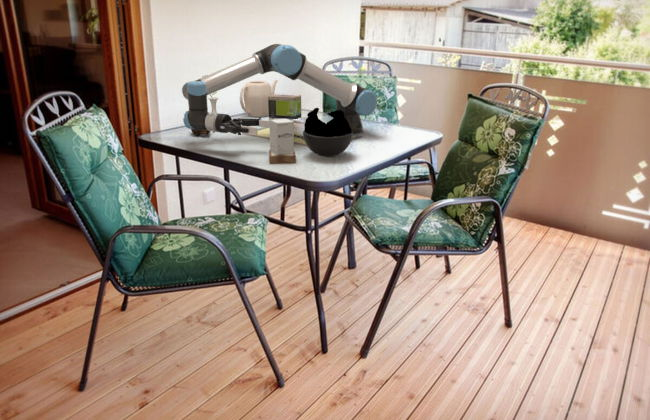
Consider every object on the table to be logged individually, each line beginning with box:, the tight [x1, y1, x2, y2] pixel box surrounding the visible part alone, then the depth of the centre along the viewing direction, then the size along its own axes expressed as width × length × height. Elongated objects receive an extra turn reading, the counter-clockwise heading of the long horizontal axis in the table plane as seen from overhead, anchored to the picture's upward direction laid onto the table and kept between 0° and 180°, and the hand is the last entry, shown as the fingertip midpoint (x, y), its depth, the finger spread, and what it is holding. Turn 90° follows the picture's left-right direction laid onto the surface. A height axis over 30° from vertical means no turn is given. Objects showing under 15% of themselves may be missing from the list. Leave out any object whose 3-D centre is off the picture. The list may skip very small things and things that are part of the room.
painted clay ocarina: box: [190, 129, 211, 137], centre depth 234 cm, size 10×15×8 cm, turn 45°
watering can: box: [239, 79, 278, 118], centre depth 280 cm, size 16×27×19 cm, turn 135°
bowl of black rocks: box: [302, 107, 354, 158], centre depth 199 cm, size 20×20×19 cm
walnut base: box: [268, 149, 297, 165], centre depth 195 cm, size 10×10×3 cm
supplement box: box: [268, 119, 295, 155], centre depth 193 cm, size 7×7×13 cm
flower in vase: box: [201, 74, 219, 113], centre depth 253 cm, size 13×11×25 cm
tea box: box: [268, 93, 302, 121], centre depth 260 cm, size 15×10×15 cm
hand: (265, 127), depth 194 cm, fingers open, 13 cm apart
